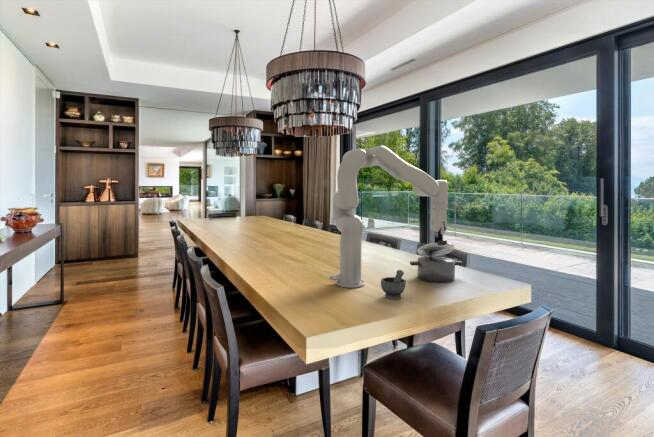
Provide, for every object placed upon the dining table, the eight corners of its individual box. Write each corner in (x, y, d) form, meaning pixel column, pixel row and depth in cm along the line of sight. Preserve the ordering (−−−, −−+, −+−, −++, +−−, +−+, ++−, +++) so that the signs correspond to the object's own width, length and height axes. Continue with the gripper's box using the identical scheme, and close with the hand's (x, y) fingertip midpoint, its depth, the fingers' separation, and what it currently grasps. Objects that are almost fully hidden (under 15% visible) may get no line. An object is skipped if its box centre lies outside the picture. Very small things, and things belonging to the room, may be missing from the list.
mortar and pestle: (376, 294, 144) (377, 265, 143) (397, 292, 148) (397, 264, 146) (390, 303, 134) (391, 272, 133) (412, 300, 137) (412, 270, 136)
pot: (415, 283, 162) (416, 263, 161) (405, 273, 180) (405, 255, 179) (468, 282, 163) (469, 263, 162) (452, 273, 181) (453, 255, 180)
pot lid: (424, 243, 161) (423, 237, 162) (413, 256, 178) (412, 251, 179) (461, 243, 161) (460, 237, 163) (446, 256, 179) (446, 250, 180)
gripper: (425, 205, 174) (425, 243, 176) (436, 207, 159) (436, 248, 161) (441, 205, 174) (440, 242, 176) (453, 207, 159) (453, 247, 161)
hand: (438, 245), depth 168 cm, fingers closed
